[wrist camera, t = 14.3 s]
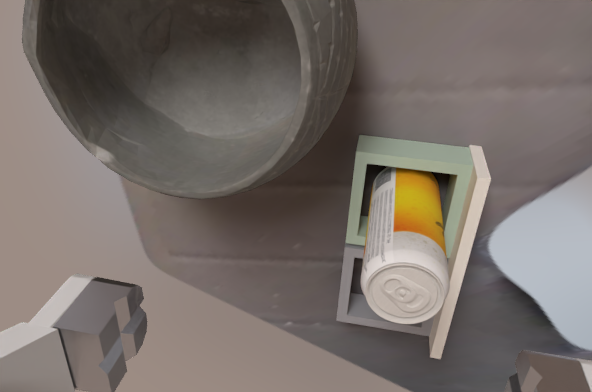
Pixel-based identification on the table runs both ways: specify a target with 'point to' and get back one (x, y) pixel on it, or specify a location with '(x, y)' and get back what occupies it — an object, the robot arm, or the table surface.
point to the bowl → (194, 84)
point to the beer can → (405, 247)
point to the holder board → (455, 213)
